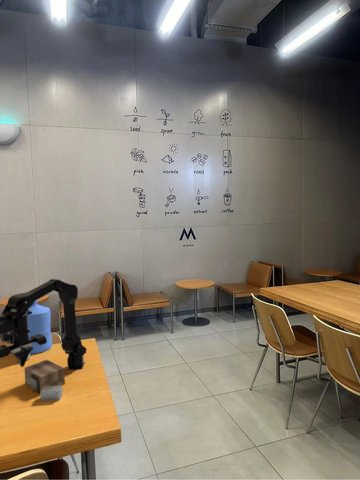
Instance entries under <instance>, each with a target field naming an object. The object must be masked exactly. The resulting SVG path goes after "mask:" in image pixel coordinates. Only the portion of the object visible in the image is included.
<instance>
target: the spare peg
mask: <svg viewBox="0 0 360 480" xmlns="http://www.w3.org/2000/svg"><path fill="white" fill-rule="evenodd" d="M39 394H40V402H55V401H61V399H62V396H63V385H61V386H46V387H43V389H42V390H41V392H40V393H39Z"/></svg>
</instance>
